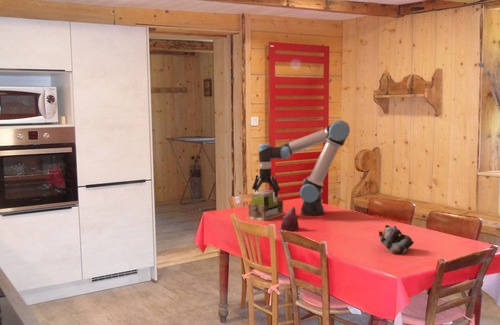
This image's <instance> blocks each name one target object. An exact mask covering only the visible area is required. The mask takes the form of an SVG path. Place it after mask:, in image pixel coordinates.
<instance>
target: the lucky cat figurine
mask: <svg viewBox="0 0 500 325" xmlns="http://www.w3.org/2000/svg"><path fill="white" fill-rule="evenodd" d="M378 237H379V242H381V244H382V245H383V246H384V247H385V248H386V249H388V251H390V252H391V253H392V254H393V255H402V254H404V253H405V252H407V251H408V249H409V248H410V247H411V246H413V245H414V243H415V242H414V241H413V239H412V238H411V236H410V235H407V234H403V233H402V231H401V230H400V229H398V228H397V225H393V226H390V225H388V224H386V225H385V226H384V229H383V231H381V230H379V231H378Z"/></svg>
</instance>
